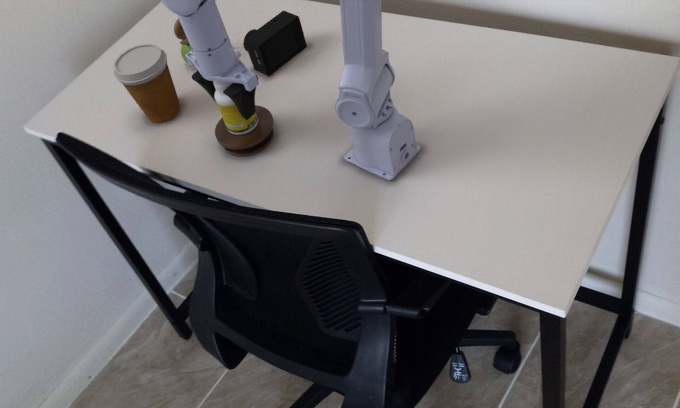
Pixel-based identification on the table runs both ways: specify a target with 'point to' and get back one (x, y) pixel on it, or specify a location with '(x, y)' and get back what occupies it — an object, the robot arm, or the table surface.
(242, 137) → the stand
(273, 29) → the digital camera
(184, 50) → the snail figurine
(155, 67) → the disposable coffee cup
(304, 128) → the table surface
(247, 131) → the supplement bottle
